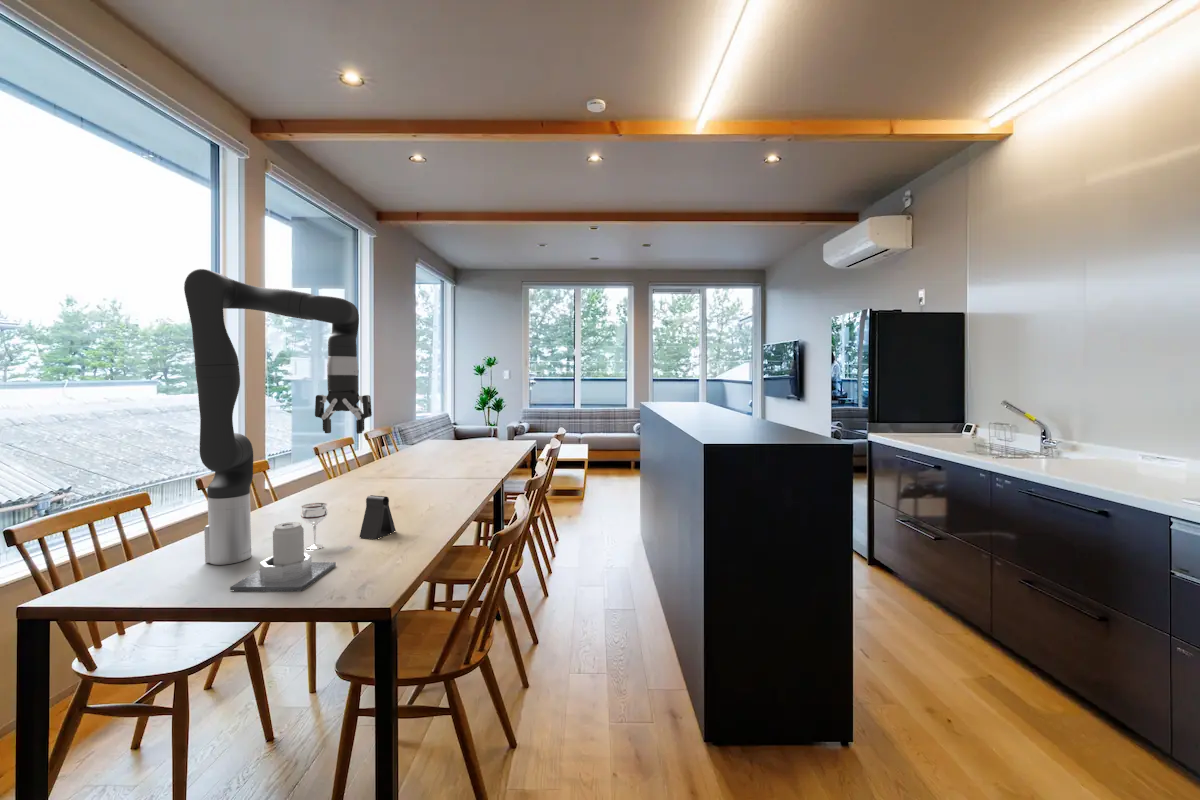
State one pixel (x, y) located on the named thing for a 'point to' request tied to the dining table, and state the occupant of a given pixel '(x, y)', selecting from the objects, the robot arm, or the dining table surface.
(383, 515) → the phone stand
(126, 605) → the dining table surface
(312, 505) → the wineglass
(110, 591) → the dining table surface
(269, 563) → the collar stand
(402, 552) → the dining table surface
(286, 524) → the beverage can
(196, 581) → the dining table surface
